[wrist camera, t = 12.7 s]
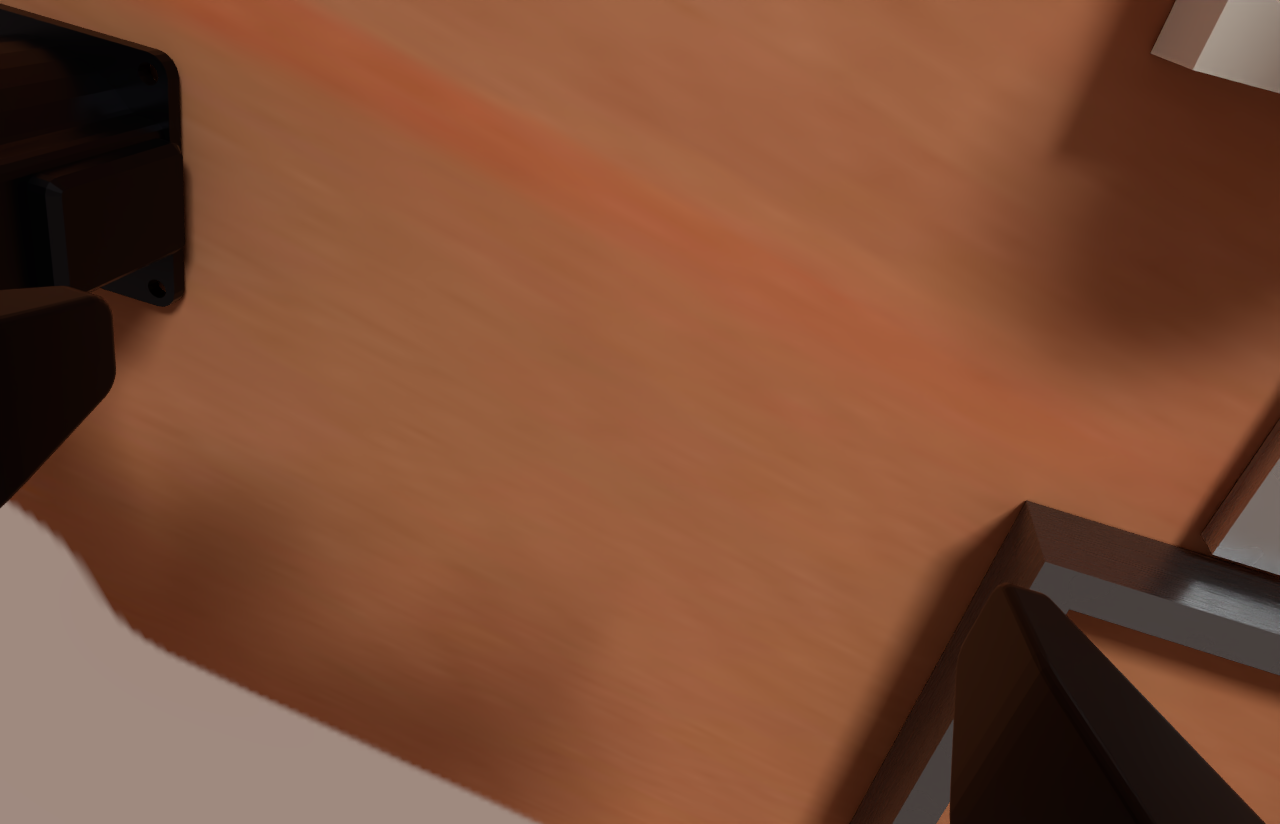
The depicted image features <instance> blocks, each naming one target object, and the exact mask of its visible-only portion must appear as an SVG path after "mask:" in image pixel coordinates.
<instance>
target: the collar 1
mask: <svg viewBox="0 0 1280 824" xmlns="http://www.w3.org/2000/svg"><path fill="white" fill-rule="evenodd" d="M1003 583H1011V584H1014V585H1018V586H1021V587H1024V588H1027V589H1030V590H1034V591H1037V592H1040V593H1043V594H1044V595H1046V596H1048V597H1049V598H1050V599H1051V600H1052V601H1053V602H1054V603H1055V604H1056V605H1057V606H1058V607H1059V608H1060V609H1061V610H1062V611H1063V612H1064V613H1065V614H1067V612H1068V611H1069V609H1070V610H1073V611H1076V612H1080V613H1083V614H1086V615H1089V616H1092V617H1095V618H1099V619H1102V620H1105V621H1108V622H1111V623H1114V624H1118V625H1121V626H1124V627H1127V628H1130V629H1134V630H1137V631H1140V632H1143V633H1146V634H1149V635H1153V636H1156V637H1159V638H1162V639H1165V640H1168V641H1172V642H1175V643H1178V644H1181V645H1184V646H1188V647H1191V648H1194V649H1197V650H1200V651H1203V652H1207V653H1210V654H1213V655H1216V656H1219V657H1223V658H1226V659H1229V660H1232V661H1235V662H1238V663H1242V664H1245V665H1248V666H1251V667H1254V668H1257V669H1261V670H1264V671H1267V672H1270V673H1273V674H1277V675H1280V578H1277V577H1274V576H1270V575H1267V574H1264V573H1261V572H1257V571H1254V570H1251V569H1248V568H1244V567H1241V566H1238V565H1235V564H1231V563H1228V562H1225V561H1222V560H1218V559H1215V558H1212V557H1209V556H1205V555H1202V554H1199V553H1196V552H1192V551H1189V550H1186V549H1183V548H1179V547H1176V546H1173V545H1170V544H1166V543H1163V542H1160V541H1157V540H1153V539H1150V538H1147V537H1144V536H1140V535H1137V534H1134V533H1130V532H1127V531H1124V530H1121V529H1117V528H1114V527H1111V526H1108V525H1104V524H1101V523H1098V522H1095V521H1091V520H1088V519H1085V518H1082V517H1078V516H1075V515H1072V514H1069V513H1065V512H1062V511H1059V510H1056V509H1052V508H1049V507H1046V506H1043V505H1039V504H1036V503H1033V502H1030V501H1026V502H1025V504H1024V506H1023V508H1022V510H1021V511H1020V513H1019V515H1018V517H1017V519H1016V521H1015V522H1014V524H1013V526H1012V528H1011V530H1010V532H1009V533H1008V535H1007V537H1006V539H1005V541H1004V543H1003V544H1002V546H1001V548H1000V550H999V552H998V554H997V555H996V557H995V559H994V561H993V563H992V565H991V566H990V568H989V570H988V572H987V574H986V576H985V577H984V579H983V581H982V583H981V585H980V587H979V588H978V590H977V592H976V594H975V596H974V598H973V599H972V601H971V603H970V605H969V607H968V609H967V610H966V612H965V614H964V616H963V618H962V620H961V621H960V623H959V625H958V627H957V629H956V631H955V632H954V634H953V636H952V638H951V640H950V642H949V643H948V645H947V647H946V649H945V651H944V653H943V654H942V656H941V658H940V660H939V662H938V664H937V665H936V667H935V669H934V671H933V673H932V675H931V676H930V678H929V680H928V682H927V684H926V685H925V687H924V689H923V691H922V693H921V695H920V696H919V698H918V700H917V702H916V704H915V706H914V707H913V709H912V711H911V713H910V715H909V717H908V718H907V720H906V722H905V724H904V726H903V728H902V729H901V731H900V733H899V735H898V737H897V739H896V740H895V742H894V744H893V746H892V748H891V750H890V751H889V753H888V755H887V757H886V759H885V761H884V762H883V764H882V766H881V768H880V770H879V772H878V773H877V775H876V777H875V779H874V781H873V783H872V784H871V786H870V788H869V790H868V792H867V794H866V795H865V797H864V799H863V801H862V803H861V805H860V806H859V808H858V810H857V812H856V814H855V816H854V817H853V819H852V821H851V823H850V824H936V823H937V821H938V820H939V818H940V817H941V815H942V813H943V812H944V810H945V809H946V807H947V805H948V804H949V802H950V784H951V763H952V743H953V722H954V702H955V681H956V666H957V661H958V656H959V653H960V650H961V647H962V645H963V643H964V641H965V639H966V638H967V636H968V634H969V632H970V630H971V629H972V627H973V625H974V623H975V621H976V620H977V618H978V616H979V614H980V612H981V611H982V609H983V607H984V605H985V604H986V602H987V600H988V598H989V596H990V595H991V593H992V592H993V590H994V589H995V588H996V587H997V586H998V585H1000V584H1003Z"/></svg>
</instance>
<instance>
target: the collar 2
mask: <svg viewBox="0 0 1280 824" xmlns="http://www.w3.org/2000/svg"><path fill="white" fill-rule="evenodd" d="M1150 54H1153V55H1156V56H1158V57H1161V58H1163V59H1166V60H1168V61H1171V62H1174V63H1176V64H1179V65H1181V66H1184V67H1186V68H1189V69H1191V70H1195V71H1198V72H1202V73H1206V74H1209V75H1213V76H1217V77H1221V78H1224V79H1228V80H1232V81H1235V82H1239V83H1243V84H1247V85H1250V86H1254V87H1258V88H1261V89H1265V90H1269V91H1273V92H1276V93H1280V0H1176V1H1175V3H1174V5H1173V8H1172V10H1171V12H1170V14H1169V16H1168V18H1167V20H1166V22H1165V24H1164V26H1163V28H1162V30H1161V32H1160V34H1159V36H1158V39H1157V41H1156V43H1155V45H1154V47H1153V49H1152V51H1151V53H1150Z"/></svg>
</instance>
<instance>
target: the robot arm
mask: <svg viewBox="0 0 1280 824" xmlns="http://www.w3.org/2000/svg"><path fill="white" fill-rule="evenodd" d="M150 64H151V65H153V66H154V68H155V69H156V71H157V74H158V81H156V80H154V78H153V77H152V76H151V73H150V69H149V68H150ZM184 244H185V237H184V196H183V157H182V153H181V142H180V102H179V76H178V70H177V67H176V66H175V64H174V62H173V60H172V59H171V58H170V57H169V56H168V55H167V54H166V53H164V52H162V51H160V50H158V49H154V48H151V47H147V46H144V45H140V44H137V43H134V42H130V41H127V40H123V39H120V38H116V37H113V36H110V35H106V34H103V33H99V32H96V31H92V30H89V29H85V28H82V27H79V26H75V25H72V24H68V23H65V22H61V21H58V20H55V19H51V18H48V17H44V16H41V15H37V14H34V13H31V12H27V11H24V10H20V9H17V8H13V7H10V6H7V5H3V4H0V508H1V507H2V506H3V505H4V504H5V503H6V502H7V501H8V500H9V499H10V498H11V497H12V496H13V495H14V494H15V493H16V492H17V491H18V490H19V489H20V488H21V487H22V486H23V485H24V484H25V483H26V482H27V481H28V480H29V479H30V478H31V476H32V475H33V474H34V473H35V472H36V471H37V470H38V469H39V468H40V467H41V466H42V465H43V464H44V462H45V461H46V460H47V459H48V458H49V457H50V456H51V455H52V454H53V453H54V452H55V451H56V450H57V448H58V447H59V446H60V445H61V444H62V443H63V442H64V441H65V440H66V439H67V438H68V437H69V435H70V434H71V433H72V432H73V431H74V430H75V429H76V428H77V427H78V426H79V425H80V424H81V423H82V421H83V420H84V419H85V418H86V417H87V416H88V415H89V414H90V413H91V412H92V411H93V410H94V408H95V407H96V406H97V405H98V404H99V403H100V402H101V401H102V400H103V399H104V398H105V397H106V395H107V394H108V393H109V391H110V389H111V387H112V385H113V383H114V380H115V375H116V361H115V347H114V332H113V318H112V311H111V308H110V306H109V304H108V303H107V302H106V301H105V300H104V299H103V298H102V297H100V296H97V295H94V294H91V293H89V292H92V291H94V290H96V289H98V288H102V289H105V290H108V291H112V292H115V293H118V294H121V295H124V296H128V297H131V298H134V299H137V300H140V301H143V302H147V303H150V304H153V305H156V306H162V307H165V306H168V305H170V304H172V303H174V302H176V301H178V300H179V299H180V298H181V297H182V296H183V293H184V262H183V246H184ZM158 281H160V282H161V283H162V284H163V285H164V287H165V290H166V292H165V291H164V290H162V288H161V287H160V286H159V283H158ZM950 824H1265V823H1264V821H1263V820H1262V819H1261V818H1260V817H1259V816H1258V815H1257V814H1256V813H1255V812H1254V811H1253V810H1252V809H1251V808H1250V807H1249V806H1248V805H1247V804H1246V803H1245V802H1244V801H1243V800H1242V798H1241V797H1240V796H1239V795H1238V794H1237V793H1236V792H1235V791H1234V790H1233V789H1232V788H1231V787H1230V786H1229V785H1228V784H1227V783H1226V782H1225V781H1224V780H1223V779H1222V778H1221V777H1220V776H1219V774H1218V773H1217V772H1216V771H1215V770H1214V769H1213V768H1212V767H1211V766H1210V765H1209V764H1208V763H1207V762H1206V761H1205V760H1204V759H1203V758H1202V757H1201V756H1200V755H1199V754H1198V753H1197V751H1196V750H1195V749H1194V748H1193V747H1192V746H1191V745H1190V744H1189V743H1188V742H1187V741H1186V740H1185V739H1184V738H1183V737H1182V736H1181V735H1180V734H1179V733H1178V732H1177V731H1176V730H1175V728H1174V727H1173V726H1172V725H1171V724H1170V723H1169V722H1168V721H1167V720H1166V719H1165V718H1164V717H1163V716H1162V715H1161V714H1160V713H1159V712H1158V711H1157V710H1156V709H1155V708H1154V707H1153V705H1152V704H1151V703H1150V702H1149V701H1148V700H1147V699H1146V698H1145V697H1144V696H1143V695H1142V694H1141V693H1140V692H1139V691H1138V690H1137V689H1136V688H1135V687H1134V686H1133V685H1132V684H1131V682H1130V681H1129V680H1128V679H1127V678H1126V677H1125V676H1124V675H1123V674H1122V673H1121V672H1120V671H1119V670H1118V669H1117V668H1116V667H1115V666H1114V665H1113V664H1112V663H1111V662H1110V661H1109V659H1108V658H1107V657H1106V656H1105V655H1104V654H1103V653H1102V652H1101V651H1100V650H1099V649H1098V648H1097V647H1096V646H1095V645H1094V644H1093V643H1092V642H1091V641H1090V640H1089V639H1088V638H1087V636H1086V635H1085V634H1084V633H1083V632H1082V631H1081V630H1080V629H1079V628H1078V627H1077V626H1076V625H1075V624H1074V623H1073V622H1072V621H1071V620H1070V619H1069V618H1068V617H1067V616H1066V614H1065V613H1064V612H1063V611H1062V610H1061V609H1060V608H1059V607H1058V606H1057V605H1056V604H1055V603H1054V602H1053V601H1052V600H1051V599H1050V598H1049V597H1048V596H1046V595H1044V594H1043V593H1040V592H1037V591H1034V590H1030V589H1027V588H1024V587H1021V586H1018V585H1014V584H1011V583H1003V584H1000V585H998V586H997V587H996V588H995V589H994V590H993V592H992V593H991V595H990V596H989V598H988V600H987V602H986V604H985V605H984V607H983V609H982V611H981V612H980V614H979V616H978V618H977V620H976V621H975V623H974V625H973V627H972V629H971V630H970V632H969V634H968V636H967V638H966V639H965V641H964V643H963V645H962V647H961V650H960V653H959V656H958V661H957V666H956V681H955V702H954V722H953V743H952V763H951V784H950Z"/></svg>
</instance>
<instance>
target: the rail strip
mask: <svg viewBox="0 0 1280 824" xmlns="http://www.w3.org/2000/svg"><path fill="white" fill-rule="evenodd" d="M1201 536H1202V537H1203V539H1204V541H1205V542H1206V544H1207V546H1208V548H1209V549H1210V551H1211V553H1212V554H1213V555H1216V556H1219V557H1222V558H1226V559H1229V560H1232V561H1235V562H1239V563H1242V564H1245V565H1248V566H1252V567H1255V568H1258V569H1261V570H1265V571H1268V572H1271V573H1274V574H1278V575H1280V419H1279V421H1278V422H1277V424H1276V425H1275V427H1274V428H1273V430H1272V431H1271V433H1270V434H1269V435H1268V437H1267V438H1266V440H1265V441H1264V443H1263V444H1262V446H1261V447H1260V449H1259V450H1258V452H1257V453H1256V455H1255V456H1254V457H1253V459H1252V460H1251V462H1250V463H1249V465H1248V466H1247V468H1246V469H1245V471H1244V472H1243V474H1242V475H1241V477H1240V478H1239V480H1238V481H1237V482H1236V484H1235V485H1234V487H1233V488H1232V490H1231V491H1230V493H1229V494H1228V496H1227V497H1226V499H1225V500H1224V502H1223V503H1222V504H1221V506H1220V507H1219V509H1218V510H1217V512H1216V513H1215V515H1214V516H1213V518H1212V519H1211V521H1210V522H1209V524H1208V525H1207V527H1206V528H1205V529H1204V531H1203V532H1202V534H1201Z"/></svg>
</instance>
